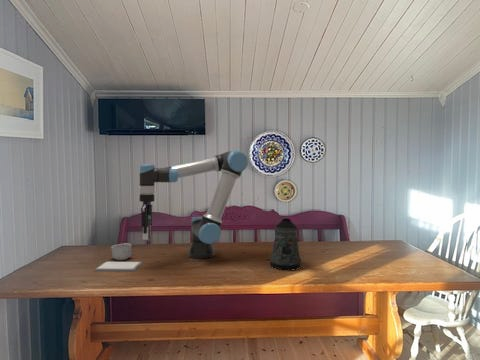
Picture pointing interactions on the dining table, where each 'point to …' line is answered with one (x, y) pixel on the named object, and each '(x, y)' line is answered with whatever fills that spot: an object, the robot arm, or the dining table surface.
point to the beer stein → (285, 247)
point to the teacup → (121, 251)
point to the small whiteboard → (118, 266)
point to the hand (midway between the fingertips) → (146, 238)
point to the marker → (148, 228)
